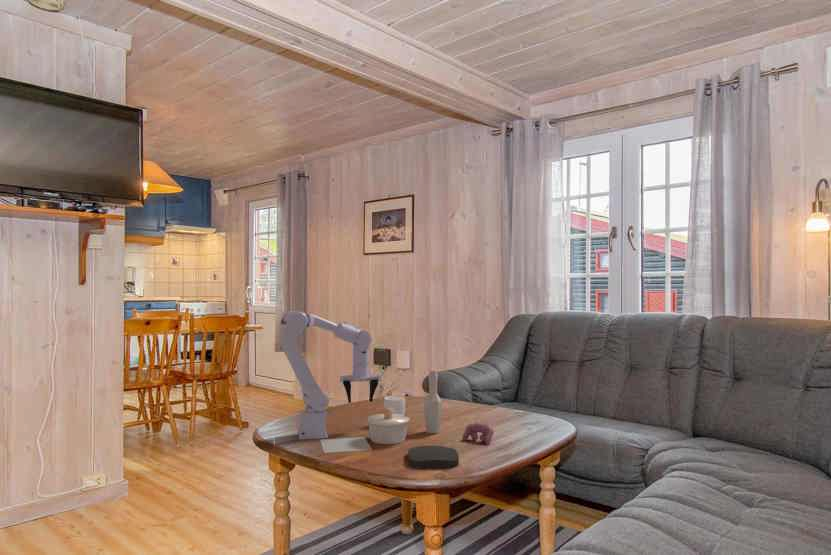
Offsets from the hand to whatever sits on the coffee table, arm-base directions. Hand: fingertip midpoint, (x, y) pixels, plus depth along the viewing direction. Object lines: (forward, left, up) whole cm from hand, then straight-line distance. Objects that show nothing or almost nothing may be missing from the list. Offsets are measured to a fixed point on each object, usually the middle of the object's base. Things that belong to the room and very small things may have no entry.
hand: (360, 401), depth 201 cm
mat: (-7, -18, -10) cm, 22 cm away
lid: (+7, -15, -4) cm, 17 cm away
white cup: (+14, +6, -11) cm, 19 cm away
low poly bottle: (+25, -7, -11) cm, 28 cm away
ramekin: (+7, -15, -11) cm, 19 cm away
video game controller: (+37, -21, -11) cm, 44 cm away
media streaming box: (+16, -38, -11) cm, 43 cm away
